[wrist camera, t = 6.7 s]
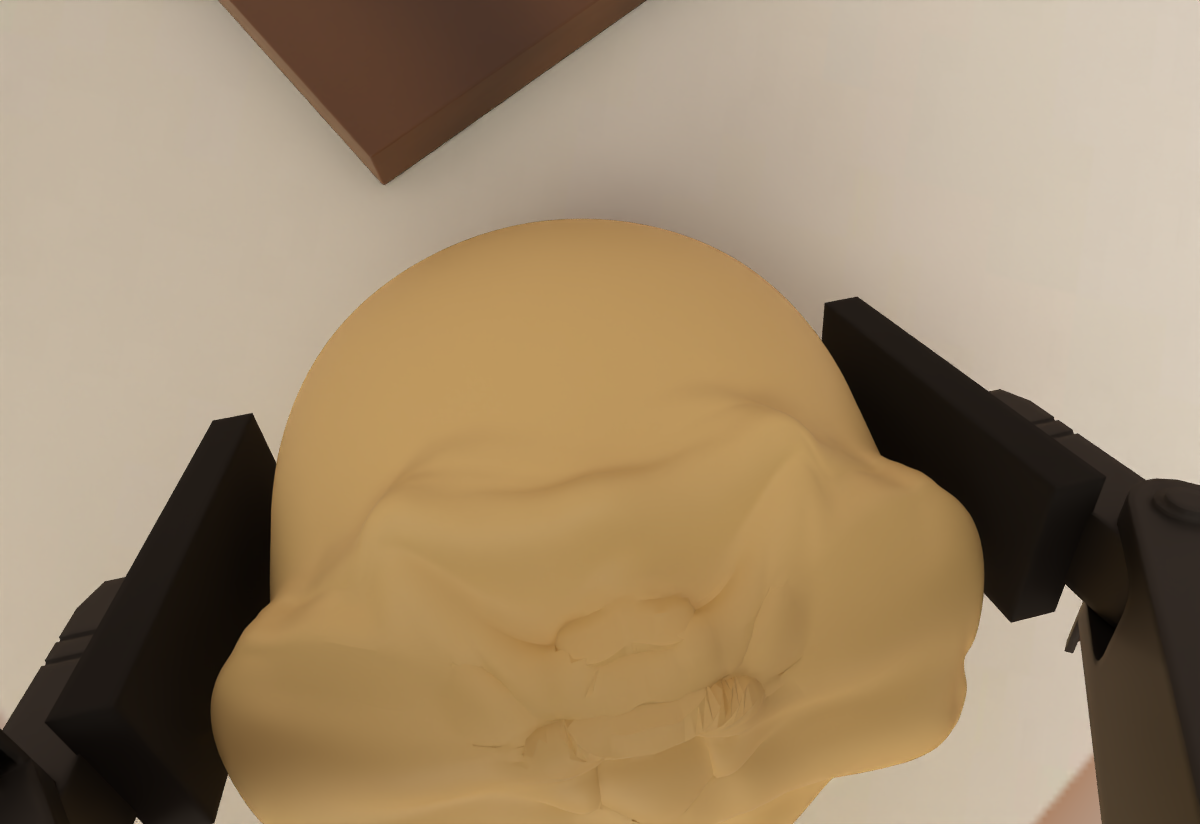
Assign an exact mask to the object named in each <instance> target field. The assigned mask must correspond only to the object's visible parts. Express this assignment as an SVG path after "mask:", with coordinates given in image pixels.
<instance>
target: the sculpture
mask: <svg viewBox="0 0 1200 824" xmlns="http://www.w3.org/2000/svg"><path fill="white" fill-rule="evenodd" d="M983 593H984V559H983V550H982V545H981V540H980V537H979V533H978V531H977V528H976V525H975V523H974V521H973V519H972V517H971V516H970V514H969V512H968V511H967V510H966V508H965V507H964V506H963V505H962V504H961V503H960V502H959V501H958V500H957V499H956V498H955V497H954V496H953V495H951V494H950V493H948V492H947V491H946V490H944V489H943V488H941V487H940V486H939V485H937V484H936V483H935V482H934V481H933V480H932V479H931V478H929V477H928V476H926V475H925V474H923V473H922V472H920V471H918V470H915V469H912V468H910V467H907V466H905V465H903V464H901V463H898V462H894V461H891V460H889V459H887V458H885V457H883V456H881V455H880V453H879V451H878V449H877V447H876V445H875V442H874V440H873V438H872V436H871V433H870V431H869V429H868V427H867V425H866V423H865V421H864V418H863V416H862V414H861V412H860V410H859V408H858V406H857V404H856V401H855V399H854V397H853V395H852V393H851V391H850V389H849V386H848V384H847V382H846V380H845V379H844V377H843V375H842V373H841V371H840V369H839V368H838V366H837V364H836V362H835V361H834V359H833V358H832V356H831V354H830V353H829V351H828V350H827V348H826V347H825V345H824V344H823V342H822V341H821V340H820V338H819V337H818V335H817V334H816V333H815V331H814V330H813V329H812V327H811V326H810V325H809V324H808V322H807V321H806V320H805V319H804V318H803V317H802V315H801V314H800V313H799V312H798V311H797V310H796V309H795V308H794V307H793V305H792V304H791V303H790V302H789V301H788V300H787V299H786V298H785V297H784V296H783V295H782V294H780V293H779V292H778V291H777V290H776V289H775V288H774V287H773V286H772V285H770V284H769V283H768V282H767V281H766V280H764V279H763V278H762V277H761V276H759V275H758V274H757V273H755V272H754V271H753V270H751V269H750V268H748V267H747V266H745V265H744V264H742V263H741V262H739V261H738V260H736V259H734V258H733V257H731V256H729V255H727V254H725V253H724V252H722V251H720V250H718V249H716V248H714V247H712V246H709V245H707V244H705V243H703V242H700V241H698V240H695V239H693V238H690V237H687V236H684V235H681V234H678V233H675V232H672V231H668V230H664V229H661V228H657V227H652V226H648V225H643V224H637V223H631V222H624V221H615V220H603V219H560V220H548V221H539V222H532V223H526V224H521V225H516V226H511V227H507V228H503V229H499V230H495V231H492V232H488V233H485V234H482V235H479V236H476V237H473V238H470V239H468V240H465V241H462V242H460V243H457V244H455V245H453V246H450V247H448V248H446V249H444V250H441V251H439V252H437V253H435V254H433V255H431V256H429V257H427V258H426V259H424V260H422V261H420V262H418V263H417V264H415V265H413V266H412V267H410V268H408V269H407V270H405V271H404V272H402V273H400V274H399V275H397V276H396V277H395V278H393V279H392V280H390V281H389V282H388V283H386V284H385V285H384V286H382V287H381V288H380V289H378V290H377V291H376V292H375V293H373V294H372V295H371V296H370V297H369V298H368V299H366V300H365V301H364V302H363V303H362V304H361V305H360V306H359V307H358V308H357V309H356V310H355V311H354V312H353V313H352V314H351V315H350V316H349V317H348V318H347V319H346V320H345V321H344V322H343V324H342V325H341V326H340V327H339V328H338V329H337V331H336V332H335V333H334V334H333V336H332V337H331V338H330V339H329V341H328V342H327V344H326V345H325V346H324V348H323V349H322V351H321V352H320V354H319V355H318V357H317V358H316V360H315V362H314V363H313V365H312V367H311V369H310V370H309V372H308V374H307V376H306V378H305V380H304V382H303V384H302V386H301V388H300V390H299V392H298V395H297V397H296V399H295V402H294V404H293V407H292V409H291V412H290V415H289V418H288V421H287V424H286V427H285V430H284V434H283V438H282V441H281V445H280V450H279V454H278V459H277V464H276V470H275V476H274V484H273V493H272V505H271V543H270V603H269V604H268V605H267V606H266V607H265V608H264V609H262V610H261V611H260V613H259V614H258V616H257V617H256V618H255V619H254V620H253V621H252V622H251V623H250V624H249V625H248V626H247V627H246V628H245V630H244V631H243V633H242V635H241V636H240V638H239V640H238V642H237V644H236V646H235V648H234V650H233V651H232V653H231V655H230V656H229V658H228V659H227V661H226V663H225V664H224V666H223V667H222V669H221V671H220V673H219V675H218V677H217V680H216V682H215V685H214V688H213V692H212V697H211V712H210V714H211V725H212V732H213V736H214V740H215V743H216V746H217V749H218V752H219V755H220V757H221V760H222V762H223V764H224V766H225V768H226V770H227V772H228V775H229V777H230V778H231V780H232V782H233V784H234V785H235V787H236V789H237V790H238V792H239V794H240V795H241V797H242V798H243V800H244V801H245V803H246V804H247V805H248V807H249V808H250V809H251V811H252V812H253V813H254V815H255V816H256V817H257V818H258V819H259V820H260V821H261V822H262V823H263V824H793V823H794V822H795V821H796V820H797V818H798V817H799V816H800V815H801V814H802V813H803V812H804V810H805V809H806V808H807V807H808V806H809V805H810V803H811V802H812V801H813V800H814V799H815V797H816V796H817V795H818V794H819V792H820V791H821V790H822V789H823V788H824V787H825V786H826V785H827V783H828V782H829V781H830V780H831V779H832V778H835V777H841V776H847V775H852V774H858V773H863V772H868V771H873V770H877V769H882V768H886V767H890V766H894V765H898V764H901V763H905V762H908V761H911V760H913V759H916V758H918V757H921V756H923V755H925V754H927V753H929V752H931V751H932V750H934V749H935V748H937V747H938V746H939V745H940V744H941V743H942V742H943V741H944V740H945V739H946V738H947V737H948V736H949V734H950V733H951V731H952V729H953V728H954V727H955V725H956V724H957V722H958V720H959V717H960V715H961V712H962V708H963V705H964V701H965V697H966V691H967V684H966V677H965V671H964V659H965V655H966V653H967V652H968V650H969V649H970V647H971V645H972V644H973V641H974V639H975V636H976V633H977V629H978V625H979V621H980V616H981V610H982V603H983Z"/></svg>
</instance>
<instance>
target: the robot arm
mask: <svg viewBox="0 0 1200 824" xmlns="http://www.w3.org/2000/svg"><path fill="white" fill-rule="evenodd" d="M822 342H823V344H824V345H825V347H826V348H827V350H828V351H829V353H830V354H831V356H832V358H833V359H834V361H835V362H836V364H837V366H838V368H839V369H840V371H841V373H842V375H843V377H844V379H845V380H846V382H847V384H848V386H849V389H850V391H851V393H852V395H853V397H854V399H855V401H856V404H857V406H858V408H859V410H860V412H861V414H862V416H863V418H864V421H865V423H866V425H867V427H868V429H869V431H870V433H871V436H872V438H873V440H874V442H875V445H876V447H877V449H878V451H879V453H880V455H881V456H883V457H885V458H887V459H889V460H891V461H894V462H898V463H901V464H903V465H905V466H907V467H910V468H912V469H915V470H918V471H920V472H922V473H923V474H925V475H926V476H928V477H929V478H931V479H932V480H933V481H934V482H935V483H936V484H937V485H939V486H940V487H941V488H943V489H944V490H946V491H947V492H948V493H950V494H951V495H953V496H954V497H955V498H956V499H957V500H958V501H959V502H960V503H961V504H962V505H963V506H964V507H965V508H966V510H967V511H968V512H969V514H970V516H971V517H972V519H973V521H974V523H975V525H976V528H977V531H978V533H979V537H980V540H981V545H982V550H983V559H984V594H985V595H986V596H987V597H988V598H989V599H990V600H991V601H992V602H993V603H994V605H995V606H996V607H997V608H998V609H999V610H1000V611H1001V612H1002V613H1003V615H1004V616H1005V617H1006V618H1007V619H1008V620H1009V621H1010V622H1015V621H1019V620H1023V619H1027V618H1031V617H1035V616H1039V615H1043V614H1047V613H1051V612H1055V609H1056V607H1057V604H1058V602H1059V599H1060V597H1061V594H1062V591H1063V589H1064V586H1065V584H1066V585H1067V586H1068V587H1069V588H1070V589H1071V590H1072V591H1073V592H1074V593H1075V594H1076V595H1077V596H1078V597H1079V598H1081V599H1082V600H1083V603H1082V605H1081V608H1080V610H1079V613H1078V615H1077V617H1076V620H1075V622H1074V625H1073V627H1072V629H1071V632H1070V634H1069V637H1068V639H1067V642H1066V647H1065V651H1066V652H1070V653H1073V652H1074V650H1075V647H1076V645H1077V643H1078V642H1079V641H1080V643H1081V651H1082V659H1083V668H1084V676H1085V685H1086V693H1087V702H1088V710H1089V719H1090V727H1091V736H1092V744H1093V753H1094V761H1095V769H1096V778H1097V786H1098V794H1099V802H1100V811H1101V820H1102V824H1200V485H1196V484H1192V483H1188V482H1184V481H1180V480H1173V479H1157V478H1156V479H1150V480H1145V479H1143V478H1142V477H1140V476H1139V475H1138V474H1136V473H1135V472H1133V471H1132V470H1130V469H1129V468H1127V467H1126V466H1124V465H1123V464H1122V463H1120V462H1119V461H1117V460H1116V459H1114V458H1113V457H1111V456H1110V455H1108V454H1107V453H1106V452H1104V451H1103V450H1101V449H1100V448H1098V447H1097V446H1095V445H1094V444H1092V443H1091V442H1090V441H1088V440H1087V439H1085V438H1084V437H1082V436H1081V435H1079V434H1078V433H1077V434H1074V433H1073V430H1072V429H1071V428H1069V427H1068V426H1066V425H1065V424H1063V423H1062V422H1060V421H1059V420H1057V421H1055V420H1054V417H1053V416H1052V415H1050V414H1049V413H1047V412H1046V411H1044V410H1043V409H1042V408H1040V407H1039V406H1037V405H1036V404H1034V403H1033V402H1031V401H1029V400H1027V399H1024V398H1022V397H1019V396H1016V395H1014V394H1011V393H1009V392H1006V391H1004V390H1001V389H999V390H994V391H987V390H986V389H984V388H983V387H982V386H980V385H979V384H978V383H976V382H975V381H973V380H972V379H971V378H969V377H968V376H966V375H965V374H964V373H962V372H961V371H960V370H958V369H957V368H955V367H954V366H953V365H951V364H950V363H948V362H947V361H946V360H944V359H943V358H942V357H940V356H939V355H937V354H936V353H935V352H933V351H932V350H931V349H929V348H928V347H926V346H925V345H924V344H922V343H921V342H919V341H918V340H917V339H915V338H914V337H913V336H911V335H910V334H908V333H907V332H906V331H904V330H903V329H901V328H900V327H899V326H897V325H896V324H895V323H893V322H892V321H890V320H889V319H888V318H886V317H885V316H883V315H882V314H881V313H879V312H878V311H877V310H875V309H874V308H872V307H871V306H870V305H868V304H867V303H865V302H864V301H863V300H861V299H860V298H859V297H853V298H848V299H842V300H837V301H832V302H827V303H825V305H824V318H823V331H822ZM275 470H276V462H275V460H274V457H273V455H272V453H271V451H270V449H269V447H268V445H267V443H266V441H265V439H264V436H263V434H262V432H261V430H260V428H259V426H258V424H257V422H256V420H255V418H254V415H253V413H250V414H245V415H240V416H235V417H229V418H224V419H219V420H214V421H212V423H211V425H210V427H209V429H208V430H207V432H206V434H205V436H204V438H203V439H202V441H201V443H200V445H199V446H198V448H197V450H196V452H195V454H194V455H193V457H192V459H191V461H190V463H189V464H188V466H187V468H186V470H185V472H184V473H183V475H182V477H181V479H180V480H179V482H178V484H177V486H176V488H175V489H174V491H173V493H172V495H171V497H170V498H169V500H168V502H167V504H166V506H165V507H164V509H163V511H162V513H161V514H160V516H159V518H158V520H157V522H156V523H155V525H154V527H153V529H152V531H151V532H150V534H149V536H148V538H147V540H146V541H145V543H144V545H143V547H142V548H141V550H140V552H139V554H138V556H137V557H136V559H135V561H134V563H133V565H132V566H131V568H130V570H129V572H128V574H127V575H126V577H124V578H119V579H114V580H109V581H105V582H104V583H103V584H102V585H101V586H100V587H99V588H98V589H96V590H95V591H94V592H93V593H92V594H91V595H90V596H89V597H88V598H87V599H86V600H85V601H84V602H83V603H82V604H81V605H80V606H79V607H78V608H77V609H76V610H75V612H74V614H73V615H72V617H71V619H70V620H69V622H68V623H67V625H66V627H65V628H64V630H63V632H62V633H61V635H60V637H59V638H60V642H56V643H55V645H54V646H53V648H52V650H51V651H50V653H49V655H48V656H47V658H46V660H45V662H46V665H45V666H41V668H40V669H39V671H38V673H37V674H36V676H35V678H34V679H33V681H32V682H31V684H30V686H29V687H28V689H27V691H26V692H25V694H24V696H23V697H22V699H21V700H20V702H19V704H18V705H17V707H16V709H15V710H14V712H13V714H12V715H11V717H10V719H9V720H8V722H7V723H6V725H5V727H4V728H3V730H1V729H0V824H134V821H135V819H136V817H137V818H138V819H139V820H140V821H141V822H142V823H143V824H213V823H214V822H215V818H216V815H217V811H218V808H219V804H220V800H221V797H222V793H223V790H224V786H225V783H226V779H227V776H228V772H227V770H226V768H225V766H224V764H223V762H222V760H221V757H220V755H219V752H218V749H217V746H216V743H215V740H214V736H213V732H212V725H211V714H210V712H211V697H212V692H213V688H214V685H215V682H216V680H217V677H218V675H219V673H220V671H221V669H222V667H223V666H224V664H225V663H226V661H227V659H228V658H229V656H230V655H231V653H232V651H233V650H234V648H235V646H236V644H237V642H238V640H239V638H240V636H241V635H242V633H243V631H244V630H245V628H246V627H247V626H248V625H249V624H250V623H251V622H252V621H253V620H254V619H255V618H256V617H257V616H258V614H259V613H260V611H261V610H262V609H264V608H265V607H266V606H267V605H268V604H269V603H270V543H271V505H272V493H273V484H274V476H275Z"/></svg>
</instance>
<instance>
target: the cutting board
mask: <svg viewBox="0 0 1200 824" xmlns="http://www.w3.org/2000/svg"><path fill="white" fill-rule="evenodd" d="M218 1H219V2H220V3H221V4H222V5H223V6H224V7H225V8H226V10H227V11H228V12H229V13H230V14H231V15H232V16H233V17H234V19H235V20H236V21H237V22H238V23H239V24H240V25H241V26H242V27H243V29H244V30H245V31H246V32H247V33H248V34H249V35H250V36H251V38H252V39H253V40H254V41H255V42H256V43H257V44H258V45H259V47H260V48H261V49H262V50H263V51H264V52H265V53H266V54H267V55H268V57H269V58H270V59H271V60H272V61H273V62H274V63H275V64H276V66H277V67H278V68H279V69H280V70H281V71H282V72H283V73H284V75H285V76H286V77H287V78H288V79H289V80H290V81H291V82H292V83H293V85H294V86H295V87H296V88H297V89H298V90H299V91H300V92H301V94H302V95H303V96H304V97H305V98H306V99H307V100H308V101H309V103H310V104H311V105H312V106H313V107H314V108H315V109H316V110H317V112H318V113H319V114H320V115H321V116H322V117H323V118H324V119H325V120H326V122H327V123H328V124H329V125H330V126H331V127H332V128H333V129H334V131H335V132H336V133H337V134H338V135H339V136H340V137H341V138H342V140H343V141H344V142H345V143H346V144H347V145H348V146H349V147H350V148H351V150H352V151H353V152H354V153H355V154H356V155H357V156H358V157H359V159H360V160H361V161H362V162H363V163H364V164H365V165H366V166H367V168H368V169H369V170H370V171H371V172H372V173H373V174H374V175H375V177H376V178H377V179H378V180H379V181H380V182H381V183H382V184H383V185H385V184H387V183H388V182H390V181H391V180H392V179H394V178H395V177H397V176H398V175H399V174H401V173H402V172H404V171H405V170H407V169H408V168H409V167H411V166H412V165H414V164H415V163H416V162H418V161H419V160H421V159H422V158H424V157H425V156H426V155H428V154H429V153H431V152H432V151H433V150H435V149H436V148H438V147H439V146H441V145H442V144H443V143H445V142H446V141H448V140H449V139H450V138H452V137H453V136H455V135H456V134H458V133H459V132H460V131H462V130H463V129H465V128H466V127H467V126H469V125H470V124H472V123H473V122H474V121H476V120H477V119H479V118H480V117H482V116H483V115H484V114H486V113H487V112H489V111H490V110H491V109H493V108H494V107H496V106H497V105H499V104H500V103H501V102H503V101H504V100H506V99H507V98H508V97H510V96H511V95H513V94H514V93H516V92H517V91H518V90H520V89H521V88H523V87H524V86H525V85H527V84H528V83H530V82H531V81H533V80H534V79H535V78H537V77H538V76H540V75H541V74H542V73H544V72H545V71H547V70H548V69H550V68H551V67H552V66H554V65H555V64H557V63H558V62H559V61H561V60H562V59H564V58H565V57H566V56H568V55H569V54H571V53H572V52H574V51H575V50H576V49H578V48H579V47H581V46H582V45H583V44H585V43H586V42H588V41H589V40H591V39H592V38H593V37H595V36H596V35H598V34H599V33H600V32H602V31H603V30H605V29H606V28H608V27H609V26H610V25H612V24H613V23H615V22H616V21H617V20H619V19H620V18H622V17H623V16H625V15H626V14H627V13H629V12H630V11H632V10H633V9H634V8H636V7H637V6H639V5H640V4H642V3H643V2H644V1H646V0H218Z"/></svg>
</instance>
